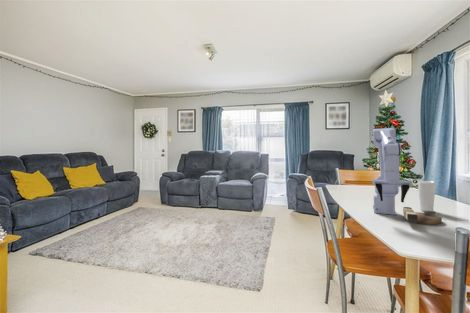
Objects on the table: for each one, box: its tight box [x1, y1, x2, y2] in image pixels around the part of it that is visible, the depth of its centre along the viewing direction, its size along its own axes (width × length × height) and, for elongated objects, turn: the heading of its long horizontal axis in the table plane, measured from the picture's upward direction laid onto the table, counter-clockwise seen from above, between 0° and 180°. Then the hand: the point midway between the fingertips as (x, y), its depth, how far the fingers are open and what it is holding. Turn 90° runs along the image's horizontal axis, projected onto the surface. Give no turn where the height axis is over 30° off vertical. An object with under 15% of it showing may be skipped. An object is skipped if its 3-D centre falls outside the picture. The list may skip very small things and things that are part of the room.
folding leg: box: [402, 206, 417, 224], centre depth 103 cm, size 14×3×3 cm, turn 151°
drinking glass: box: [417, 180, 436, 212], centre depth 120 cm, size 7×7×15 cm
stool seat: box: [404, 210, 443, 226], centre depth 106 cm, size 13×13×4 cm
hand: (391, 201), depth 104 cm, fingers open, 7 cm apart
